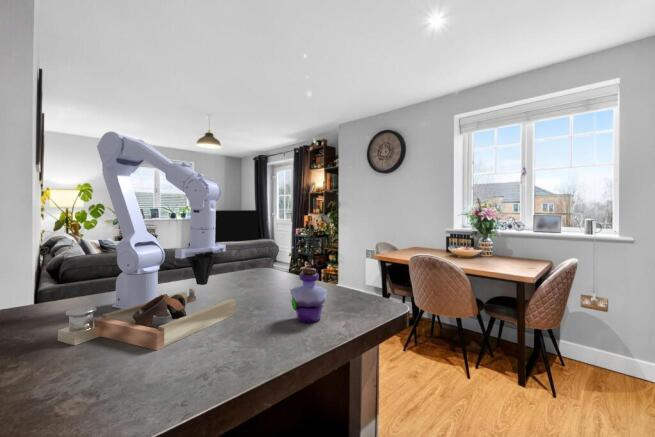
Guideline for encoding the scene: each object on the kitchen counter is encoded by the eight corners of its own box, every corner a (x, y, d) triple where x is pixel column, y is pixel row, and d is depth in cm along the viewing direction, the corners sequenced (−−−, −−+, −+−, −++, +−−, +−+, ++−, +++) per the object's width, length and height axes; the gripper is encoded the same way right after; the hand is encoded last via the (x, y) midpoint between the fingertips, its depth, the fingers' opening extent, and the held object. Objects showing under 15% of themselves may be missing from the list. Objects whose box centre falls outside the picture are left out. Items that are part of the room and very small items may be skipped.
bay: (94, 334, 61) (94, 316, 61) (182, 305, 81) (182, 291, 81) (156, 350, 54) (157, 330, 54) (235, 314, 74) (235, 299, 74)
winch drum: (57, 340, 58) (58, 311, 57) (87, 331, 62) (87, 304, 62) (74, 345, 56) (74, 315, 56) (103, 335, 60) (103, 307, 60)
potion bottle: (282, 319, 71) (282, 267, 71) (309, 311, 78) (309, 263, 78) (307, 329, 66) (308, 273, 65) (334, 319, 72) (335, 268, 72)
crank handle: (176, 307, 79) (176, 293, 79) (172, 306, 80) (173, 292, 80) (195, 301, 85) (196, 288, 85) (192, 300, 86) (192, 288, 85)
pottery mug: (182, 341, 60) (158, 307, 58) (141, 359, 61) (116, 327, 59) (205, 307, 71) (185, 278, 69) (170, 323, 72) (150, 294, 70)
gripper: (192, 230, 67) (191, 293, 67) (235, 228, 81) (234, 280, 81) (168, 229, 70) (167, 289, 70) (214, 227, 83) (213, 277, 83)
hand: (201, 284), depth 76 cm, fingers closed
